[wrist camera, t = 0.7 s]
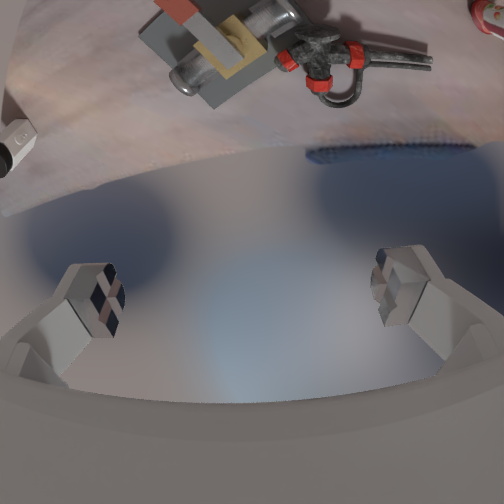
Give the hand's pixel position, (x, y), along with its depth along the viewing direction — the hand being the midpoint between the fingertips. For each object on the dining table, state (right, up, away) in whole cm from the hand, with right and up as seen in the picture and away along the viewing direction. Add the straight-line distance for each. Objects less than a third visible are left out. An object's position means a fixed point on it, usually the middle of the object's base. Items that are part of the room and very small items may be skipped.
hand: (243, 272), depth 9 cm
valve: (+17, +30, +30) cm, 45 cm away
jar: (-52, +28, +40) cm, 71 cm away
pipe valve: (-2, +33, +28) cm, 44 cm away
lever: (-6, +29, +20) cm, 36 cm away
